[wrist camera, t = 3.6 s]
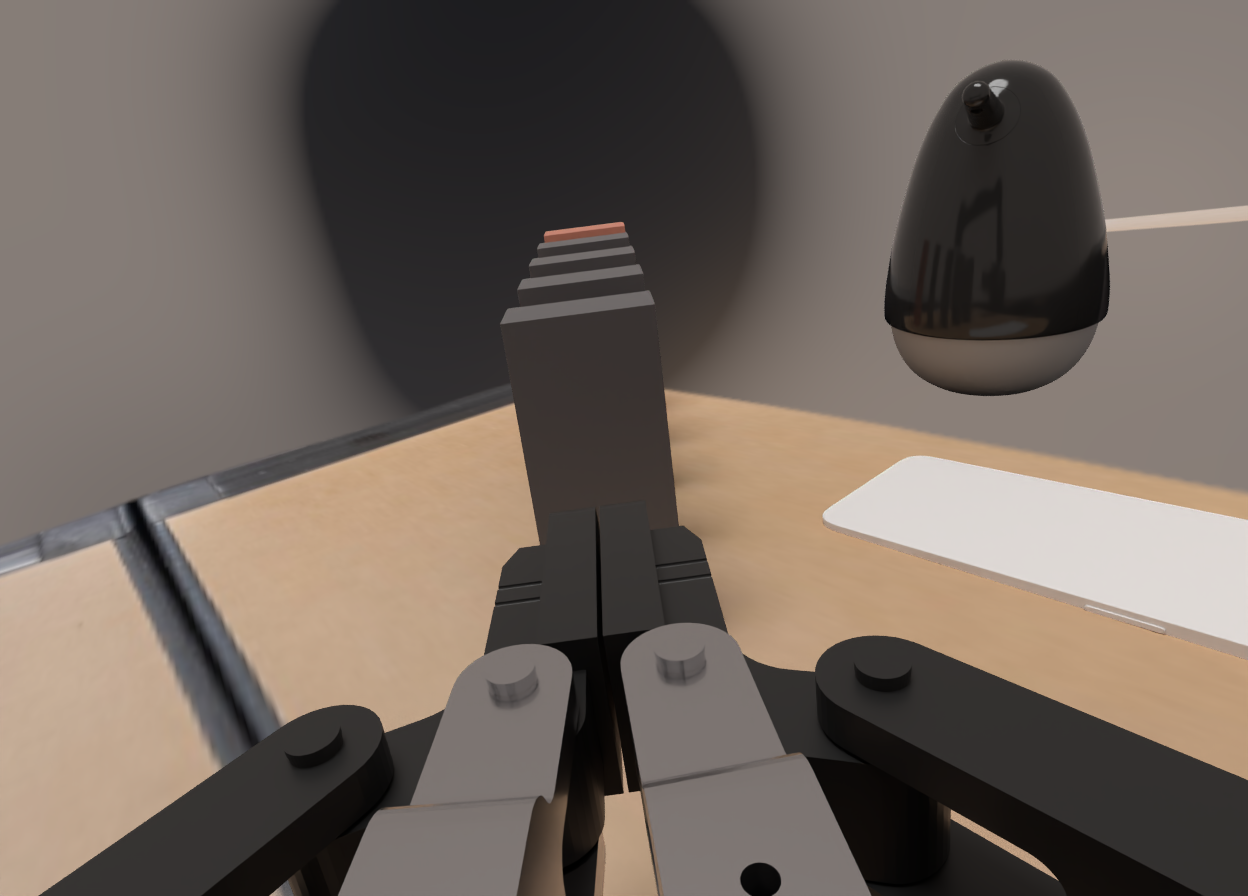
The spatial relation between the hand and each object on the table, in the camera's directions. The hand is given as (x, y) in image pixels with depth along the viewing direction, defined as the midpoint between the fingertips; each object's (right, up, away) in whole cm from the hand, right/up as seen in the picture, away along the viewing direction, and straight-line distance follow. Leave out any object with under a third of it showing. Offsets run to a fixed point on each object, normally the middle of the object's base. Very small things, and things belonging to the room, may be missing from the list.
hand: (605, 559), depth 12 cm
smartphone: (+15, -2, +14) cm, 20 cm away
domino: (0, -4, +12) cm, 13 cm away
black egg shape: (+19, +5, +29) cm, 35 cm away
